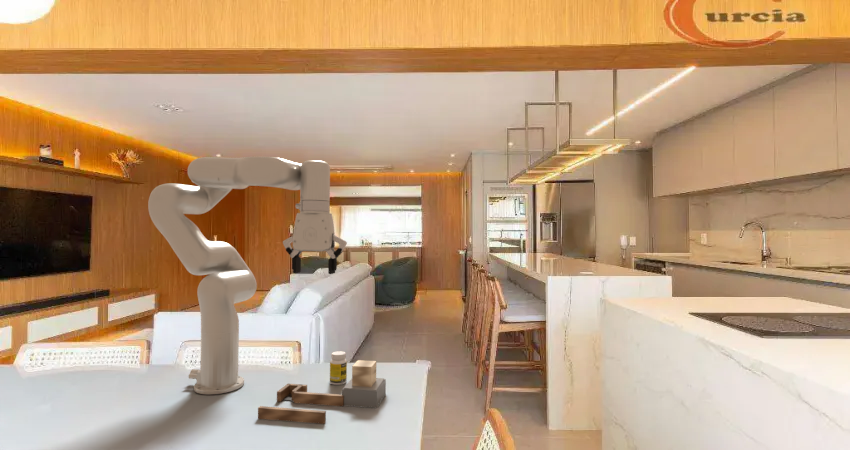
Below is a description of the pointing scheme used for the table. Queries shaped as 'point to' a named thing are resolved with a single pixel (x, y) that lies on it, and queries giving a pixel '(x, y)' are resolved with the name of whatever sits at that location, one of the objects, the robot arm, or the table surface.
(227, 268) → the robot arm
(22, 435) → the table surface
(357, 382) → the block
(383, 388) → the stand
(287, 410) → the channel
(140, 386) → the table surface
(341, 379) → the supplement bottle
